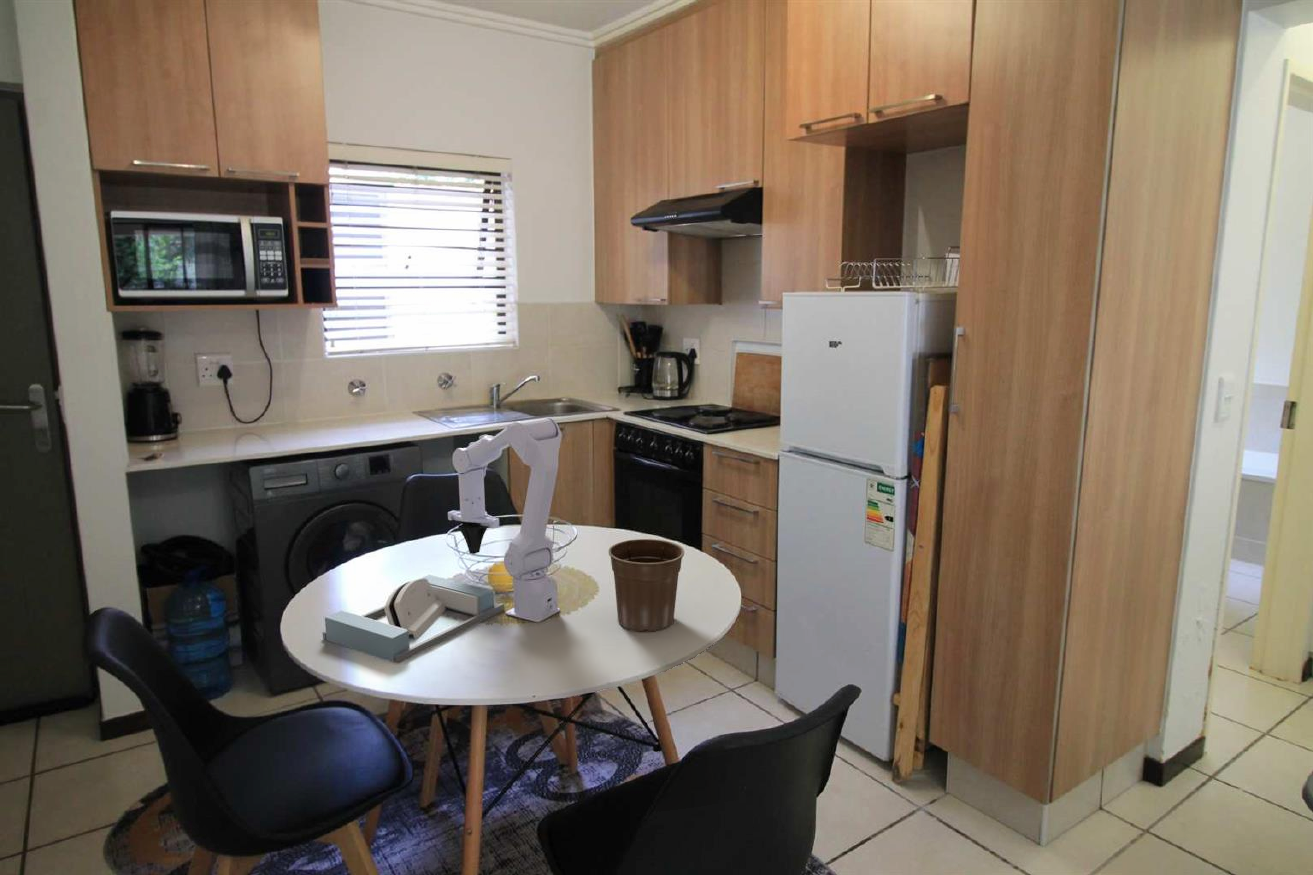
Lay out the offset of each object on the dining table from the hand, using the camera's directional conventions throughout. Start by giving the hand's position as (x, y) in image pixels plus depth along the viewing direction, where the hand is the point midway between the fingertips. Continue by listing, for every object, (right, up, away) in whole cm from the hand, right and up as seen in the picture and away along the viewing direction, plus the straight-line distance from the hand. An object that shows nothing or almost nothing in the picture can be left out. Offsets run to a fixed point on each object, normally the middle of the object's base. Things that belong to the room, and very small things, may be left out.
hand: (474, 552), depth 188 cm
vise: (-8, -13, -18) cm, 23 cm away
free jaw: (-3, -11, -8) cm, 14 cm away
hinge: (-9, -13, -17) cm, 23 cm away
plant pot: (+41, -13, -17) cm, 46 cm away
